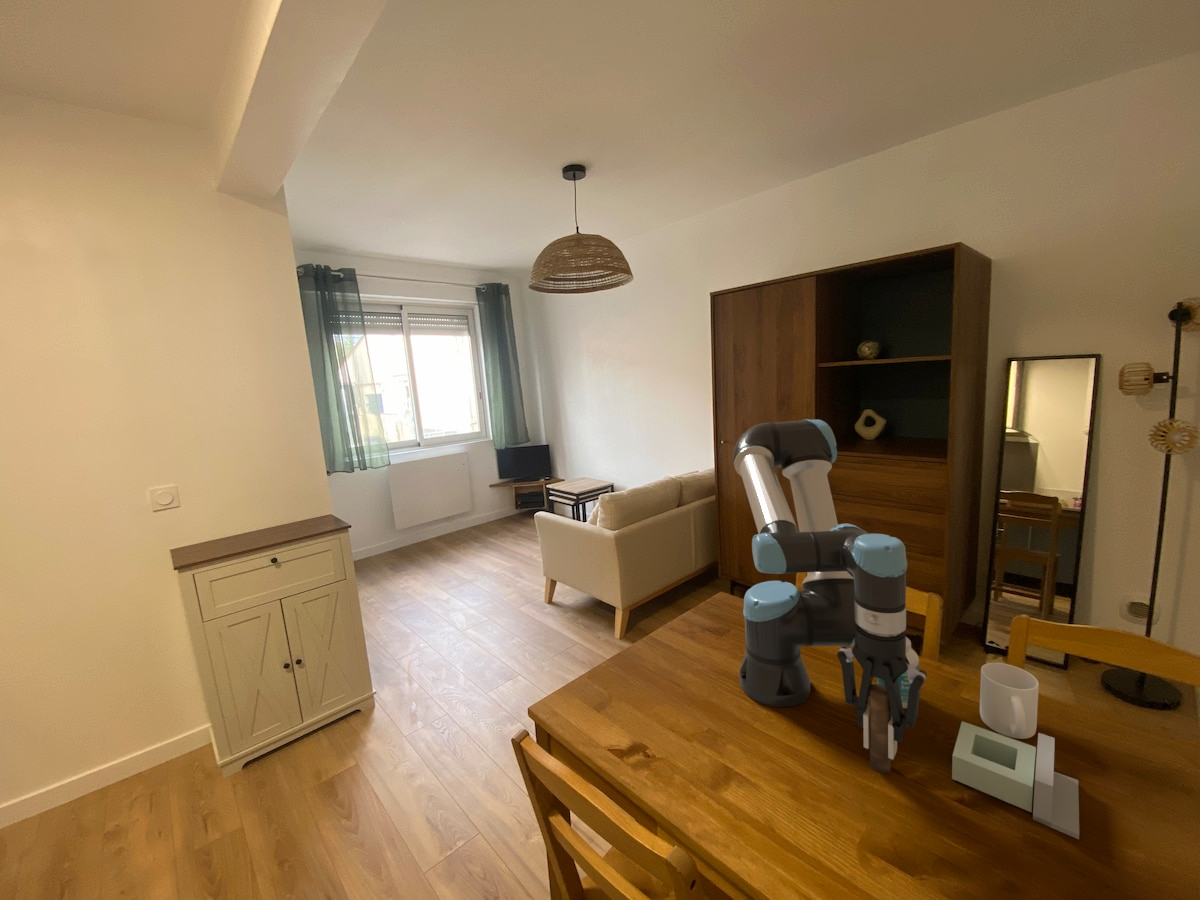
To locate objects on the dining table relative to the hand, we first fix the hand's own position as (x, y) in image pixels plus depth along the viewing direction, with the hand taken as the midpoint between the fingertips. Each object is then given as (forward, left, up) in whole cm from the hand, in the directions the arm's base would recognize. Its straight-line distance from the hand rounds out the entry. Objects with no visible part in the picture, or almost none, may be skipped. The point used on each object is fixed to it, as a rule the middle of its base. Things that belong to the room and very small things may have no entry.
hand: (880, 748), depth 84 cm
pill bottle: (-2, +21, -4) cm, 21 cm away
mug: (+16, +23, -4) cm, 28 cm away
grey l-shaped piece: (+22, +9, -4) cm, 24 cm away
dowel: (0, 0, -4) cm, 4 cm away
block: (+15, +9, -4) cm, 18 cm away
